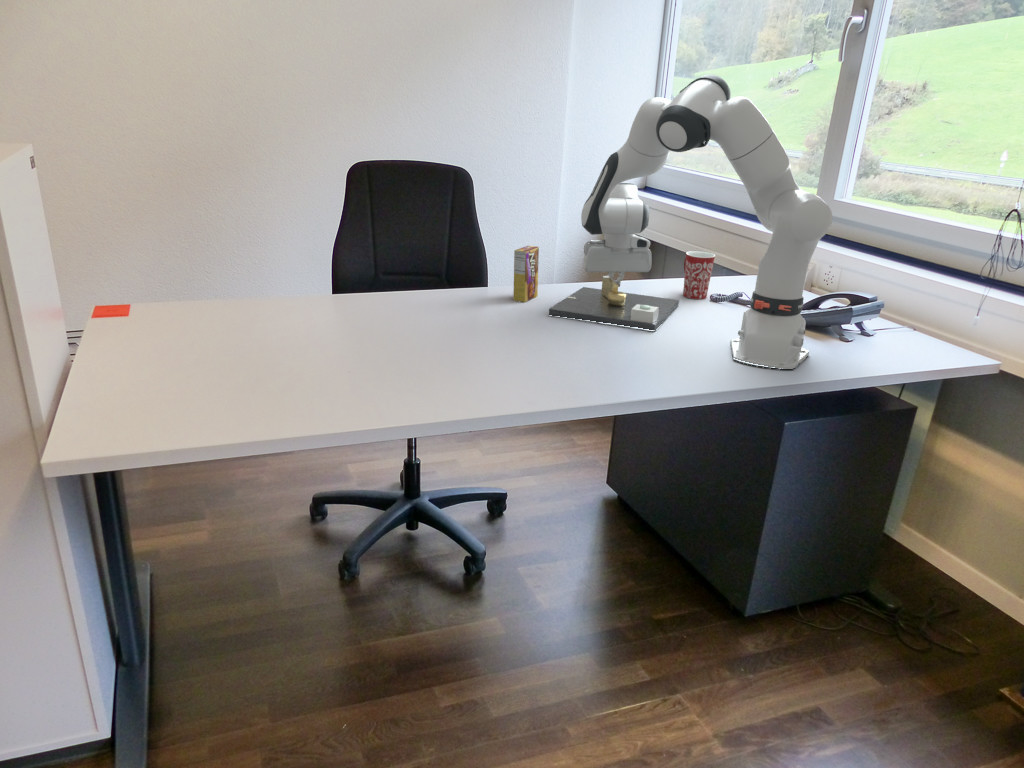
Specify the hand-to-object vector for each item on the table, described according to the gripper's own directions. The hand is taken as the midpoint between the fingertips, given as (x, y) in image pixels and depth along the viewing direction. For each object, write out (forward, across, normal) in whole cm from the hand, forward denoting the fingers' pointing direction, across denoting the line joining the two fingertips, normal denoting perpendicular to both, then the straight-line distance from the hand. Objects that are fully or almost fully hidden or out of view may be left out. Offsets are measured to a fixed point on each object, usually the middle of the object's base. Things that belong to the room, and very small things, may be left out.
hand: (615, 286), depth 221 cm
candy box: (+5, -26, +6) cm, 27 cm away
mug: (+5, +29, +9) cm, 31 cm away
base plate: (+5, -2, -9) cm, 10 cm away
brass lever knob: (+3, -2, -4) cm, 5 cm away
